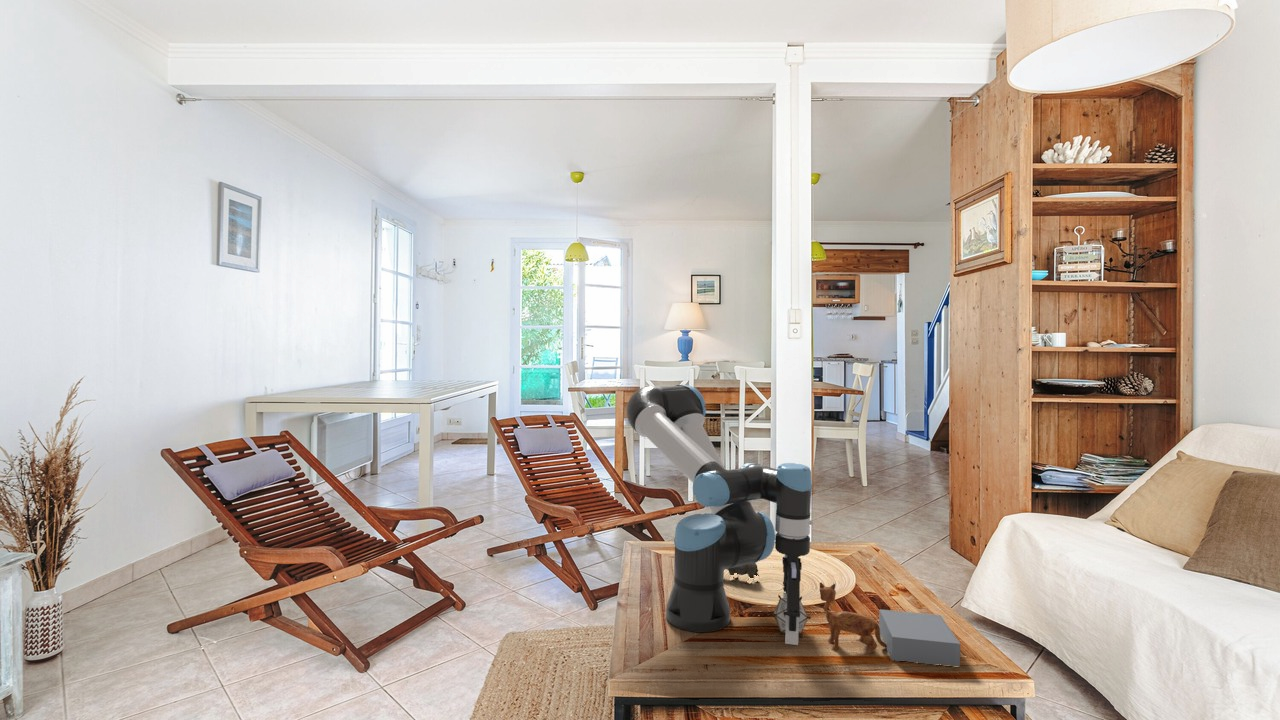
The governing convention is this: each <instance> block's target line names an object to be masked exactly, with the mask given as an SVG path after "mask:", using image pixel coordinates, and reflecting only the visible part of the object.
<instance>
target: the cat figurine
mask: <svg viewBox="0 0 1280 720" xmlns="http://www.w3.org/2000/svg"><path fill="white" fill-rule="evenodd" d="M819 593H820V595H819V596H820V599H821V601H823V602H826V603H825V604H824V606H823V608H822V609H823V610H824V612H825V613H826V615H825V618H826V620H827V624H829V632H830V636H829V638H828V640H826V641H827V643H830V644H832V643H833V645H832V647H831V648H830V650H831V651H837V650H838V647H839V643H840V642H839V641H840V640H839V638H840V637H839V636H840V634H841V631H844V632H847V633H851V634H855V635H857V636H860V637H859V639H856V640H855V641H856V642H860V643H861V642H865V643H866V644H867V645H868V646H869V648H868V650H867V652H865V653H866V654H865V655H868V654H869V655H870V654H871V653H873V651H874V650H875V649H877V647H878V644H879V645H880V646H881V647H883V648H885V649H886V648H887V644H886V643H884V642H883V640H882V637H881V635H880V628H879V623H877V621H876V620H874V619H873V618H872V617H870V616H868V615H865V614H863V613H858V612H854V611H853V612H852V611H847V610H846V611H845V610H844V611H839V612H833V611H829V607H830V606H831V603H832V602H833V603H834V602H835V600H836V594H837V591H836V583H833V584H832V585H830V586H825V585H824V584H823V582H819ZM873 632H874V635H875V638H876V640H875V638H874V637H873V634H872V633H873ZM876 641H877V642H878V644H877V642H876Z"/></svg>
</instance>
